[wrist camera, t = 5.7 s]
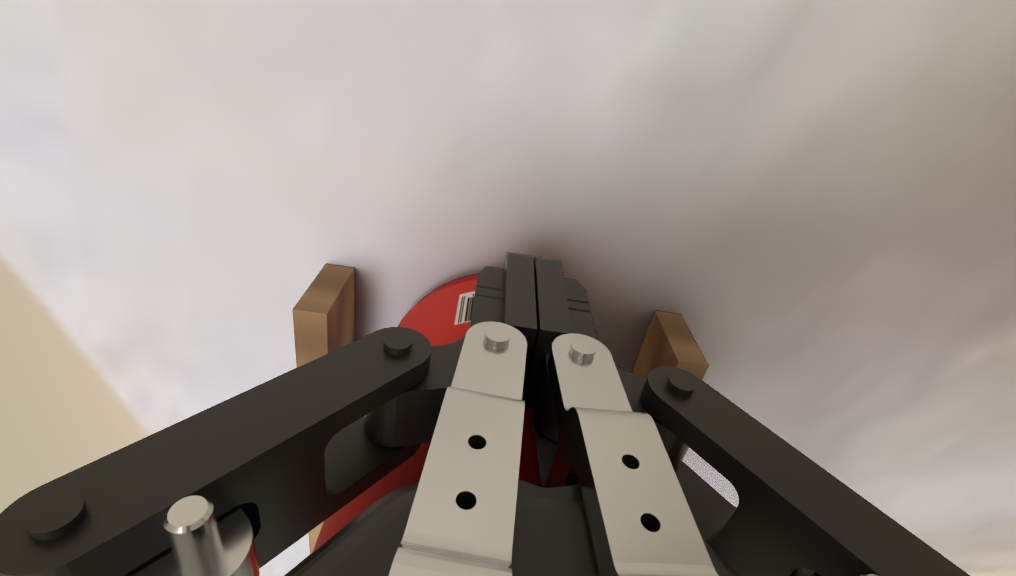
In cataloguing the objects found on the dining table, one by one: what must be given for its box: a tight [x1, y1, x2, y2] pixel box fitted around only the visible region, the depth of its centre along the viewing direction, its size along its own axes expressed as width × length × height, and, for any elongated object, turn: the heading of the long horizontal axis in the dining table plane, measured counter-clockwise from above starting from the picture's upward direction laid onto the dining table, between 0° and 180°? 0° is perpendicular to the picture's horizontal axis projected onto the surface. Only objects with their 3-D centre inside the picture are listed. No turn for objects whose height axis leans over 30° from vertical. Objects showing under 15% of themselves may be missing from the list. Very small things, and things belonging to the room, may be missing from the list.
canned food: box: [312, 274, 537, 553], centre depth 14 cm, size 8×8×11 cm
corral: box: [293, 264, 709, 554], centre depth 20 cm, size 15×13×3 cm
